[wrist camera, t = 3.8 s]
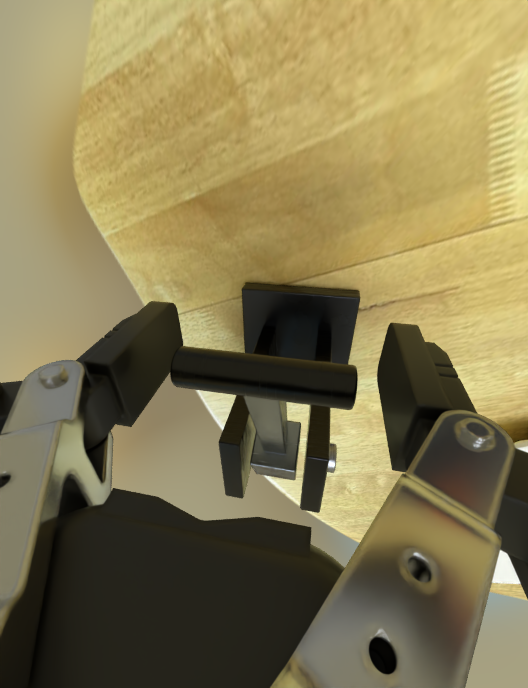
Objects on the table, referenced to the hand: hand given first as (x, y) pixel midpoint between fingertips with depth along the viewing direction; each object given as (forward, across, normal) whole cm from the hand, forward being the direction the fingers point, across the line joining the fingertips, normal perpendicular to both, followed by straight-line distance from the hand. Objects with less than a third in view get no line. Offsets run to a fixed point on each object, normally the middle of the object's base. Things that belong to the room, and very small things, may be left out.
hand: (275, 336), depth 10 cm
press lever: (+1, 0, +4) cm, 4 cm away
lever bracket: (+12, 0, +8) cm, 14 cm away
